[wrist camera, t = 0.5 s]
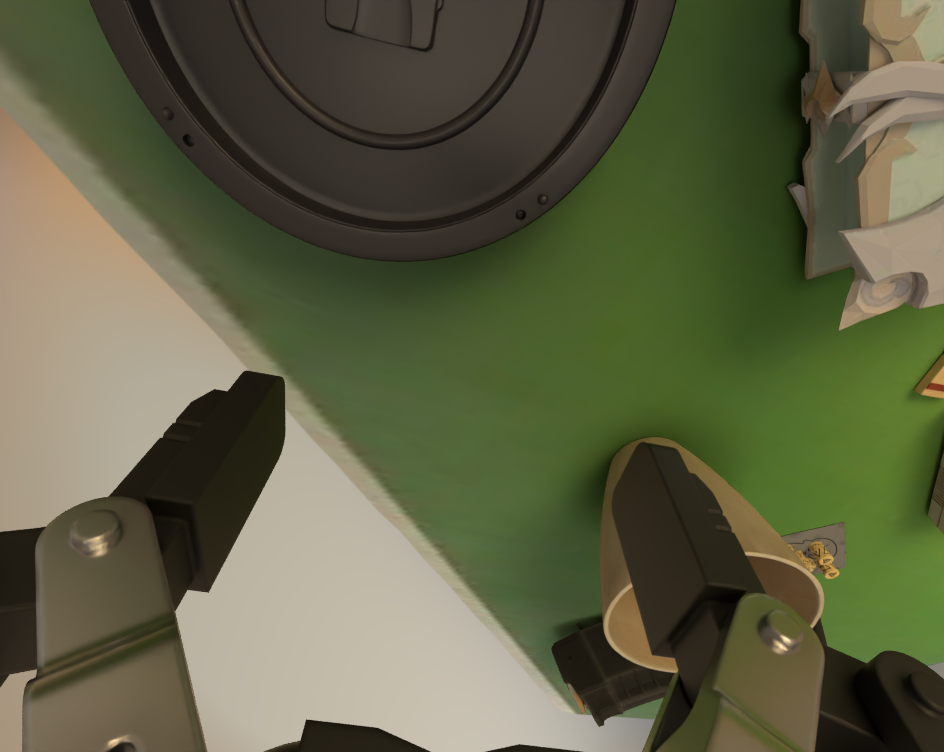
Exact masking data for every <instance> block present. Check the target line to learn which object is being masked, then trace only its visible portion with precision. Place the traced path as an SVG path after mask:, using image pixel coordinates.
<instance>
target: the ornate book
mask: <svg viewBox="0 0 944 752" xmlns="http://www.w3.org/2000/svg"><path fill="white" fill-rule="evenodd" d="M799 33H800V35H801V36H802V37H803V38H804V39H805V41H806V42H807V43H808V44H809V48H810V72H809V73H808V74H807V72H806V75H805V77H804V78H803V79H802V80H801V92H802V116H803V117H805V119H806V124H807V122H808V121H809V119H810V118H811V145H810V147H809V149H808V151H807V153H806V155H805V157H804V159H803V161H802V165H803V174H804V182H805V187H803V186H801V185H799V184H796V183H792V184H790V185H788V186H787V188H788V189H789V191H790V193H791V194H792V196H793V197H794V199H795V201H796V203H797V206H798V208H799V210H800V212H801V214H802V217H803V219H804V221H805V223H806V225H807V228H808V233H807V246H806V259H805V278H806V279H807V280H808V279H811V278H815V277H818V276H821V275H825V274H828V273H831V272H834V271H838V270H841V269H844V268H848V267H851V266H853V268H854V271H855V272H854V281H853V282H852V285H851V287H850V290H849V293H848V296H847V299H846V303H845V307H844V310H843V314H842V319H841V323H840V327H839V331H840V330H842V329H844V328H846V327H848V326H850V325H853V324H855V323H857V322H860V321H862V320H865V319H868V318H871V317H873V316H876V315H879V314H881V313H884V312H887V311H890V310H892V309H895V308H897V307H899V306H900V305H902V304H903V303H904V302H905V303H907V304H909V305H911V306H913V307H915V308H917V309H920V308H925V307H929V306H934V305H938V304H943V303H944V0H801V5H800V21H799Z"/></svg>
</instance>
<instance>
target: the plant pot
mask: <svg viewBox="0 0 944 752" xmlns="http://www.w3.org/2000/svg"><path fill="white" fill-rule="evenodd" d="M641 442H646V443H652V444H658V445H663V446H669V447H674V448H676V449H677V450H678V451H679V453H680V455H681V457H682V459H683V461H684V463H685V465H686V467H687V469H688V471H689V473H695V474H696V475H697V476H698V477H699V478H700V479H701V480H702V481H703V482H704V483H705V485H706V486H707V487H708V488H709V489H710V490H711V491H712V492H713V494H714V496H715V497H716V499H717V501H718V503H719V505H720V507H721V509H722V511H723V516H726V518H727V520H728V522H729V524H730V526H731V528H732V529H731V532H734V533H735V535H736V537H737V539H738V541H739V543H740V545H741V547H742V548H743V550H744V552H745V554H746V556H747V558H748V560H749V562H750V564H751V565H752V567H753V569H754V571H755V573H756V575H757V577H758V579H759V581H760V582H761V584H762V586H763V588H764V590H765V592H766V594H767V595H769V596H772V597H774V598H776V599H778V600H780V601H782V602H784V603H785V604H787V605H788V606H790V607H791V608H792V609H794V610H795V611H796V612H797V613H798V614H800V615H801V616H802V617H803V618H804V619H805V620H806V622H807V623H808V624H809V625H810V626H811V628H813V627H814V626H815V624H816V623H817V621H818V620H819V618H820V616H821V614H822V611H823V607H824V593H823V590H822V587H821V585H820V583H819V581H818V580H817V579H816V578H815V576H814V575H813V574H812V573H811V572H810V570H809V569H808V568H807V567H806V566H805V564H804V563H803V562H802V561H801V560H800V558H799V557H798V556H797V555H796V554H795V553H794V551H793V550H792V549H791V548H790V547H789V546H788V545H787V543H786V542H785V541H784V540H783V539H782V538H781V537H780V535H779V534H778V533H777V532H776V531H775V530H774V529H773V528H772V526H771V525H770V524H769V523H768V522H767V521H766V520H765V519H764V518H763V517H762V516H761V515H760V514H759V512H758V511H757V510H756V509H755V508H754V507H753V506H752V505H751V504H750V503H748V502H747V501H746V500H745V499H744V498H743V497H742V496H741V495H740V494H739V493H738V492H737V491H736V490H735V489H734V488H733V487H732V486H731V485H729V484H728V483H727V482H726V481H725V480H724V479H723V478H722V477H720V476H719V475H718V474H717V473H716V472H715V471H713V470H712V469H711V468H710V467H709V466H707V465H706V464H705V463H704V462H702V461H701V460H700V459H699V458H697V457H696V456H695V455H693V454H692V453H690V452H689V451H688V450H686V449H685V448H683V447H682V446H681V445H679V444H677V443H676V442H674V441H672V440H670V439H666V438H661V437H648V438H642V439H639V440H636V441H633V442H631V443H629V444H627V445H626V446H624V447H623V448H622V449H620V450H619V451H618V452H617V454H616V455H615V456H614V458H613V460H612V462H611V465H610V469H609V474H608V478H607V483H606V488H605V494H604V501H603V509H602V520H601V535H600V582H601V601H602V615H603V628H604V633H605V636H606V639H607V641H608V642H609V644H610V645H611V647H612V648H613V649H614V650H615V651H616V652H618V653H619V654H620V655H621V656H623V657H624V658H626V659H628V660H630V661H631V662H633V663H635V664H638V665H641V666H644V667H646V668H650V669H654V670H659V671H664V672H672V673H676V672H677V671H678V667H677V664H676V661H675V658H668V657H661V656H654V655H652V654H651V651H650V647H649V644H648V640H647V636H646V633H645V629H644V626H643V622H642V619H641V615H640V611H639V608H638V604H637V601H636V597H635V594H634V590H633V586H632V583H631V579H630V576H629V572H628V569H627V565H626V561H625V558H624V554H623V551H622V547H621V544H620V540H619V536H618V533H617V529H616V526H615V522H614V519H613V515H612V496H613V492H614V489H615V487H616V485H617V483H618V481H619V479H620V477H621V475H622V473H623V471H624V469H625V467H626V465H627V463H628V461H629V459H630V457H631V455H632V454H633V452H634V450H635V448H636V446H637V445H638V444H639V443H641Z"/></svg>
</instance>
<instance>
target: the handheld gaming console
mask: <svg viewBox="0 0 944 752" xmlns="http://www.w3.org/2000/svg"><path fill="white" fill-rule="evenodd" d="M928 516H929V517H930V519H931V520H932V521H933V523H934V524H935V525H936V526H937V527H938V528H939V529H940V530H941V531H942V532H943V533H944V451H943V455H942V459H941V463H940V468H939V471H938V476H937V479H936V484H935V487H934V491H933V494H932V499H931V503H930V508H929V513H928Z"/></svg>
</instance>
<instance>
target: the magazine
mask: <svg viewBox="0 0 944 752" xmlns="http://www.w3.org/2000/svg"><path fill="white" fill-rule="evenodd" d="M577 626H578V627H579V629H580V630H579V631H577V632H575V633H573V634H571V635H569V636H567V637H565V638H563V639H561V640H559V641H557V642H555V643H554V645H553V646H552V649H551V650H552V654H553V656H554V659H555V661H556V663H557V666H558V668H559V671H560V673H561V676H562V678H563V681H564V683H566V684H567V687H568V689H569V690H570V691H571V693H572V695H573V697H574V699H575V701H576V703H577V705H578V706H579V708H580V709H581V711H582V712H583V714H584V715H585V714H586V712H585V707H584V704H585V705H586V707H587V708H588V709H589V710H590V712H591V714H592V716H593V718H594V720H595V721H596V723H597V725H598V726H599V727H600V726H603V725H604V721H605V720H606V719H607V718H609V717H611V716H614V715H618V714H623V712H624V711H626V710H629V709H631V708H634V707H637V706H639V705H642V704H645V703H648V702H651V701H654V700H657V699H660V698H663V697H664V696H665V694H666V691H667V689H668V686H669V684H670V682H671V679H672V677H673V676H674V675H675V673H672V672H664V671H659V670H654V669H650V668H646V667H644V666H641V665H638V664H635V663H633V662H631V661H630V660H628V659H626V658H624V657H623V656H621V655H620V654H619V653H618V652H616V651H615V650H614V649H613V648H612V647H611V645H610V644H609V642H608V641H607V639H606V636H605V633H604V628H603V621H602V622H599V623H596V624H594V625H591V626H589V627H587V628H583V627H582V626H581V625H580V624H579V623H578V624H577ZM812 629H813V630H814V632H815V633H816V635H817V636H818V638H819V640H820V642H821V644H824V645H826V646H827V643H826V639H825V635H824V631H823V627H822V623H821V619H820V618H819V620H818V621H817V623H816V624H815V626H814V627H813V628H812ZM621 708H622V709H621ZM622 710H623V711H622Z"/></svg>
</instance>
